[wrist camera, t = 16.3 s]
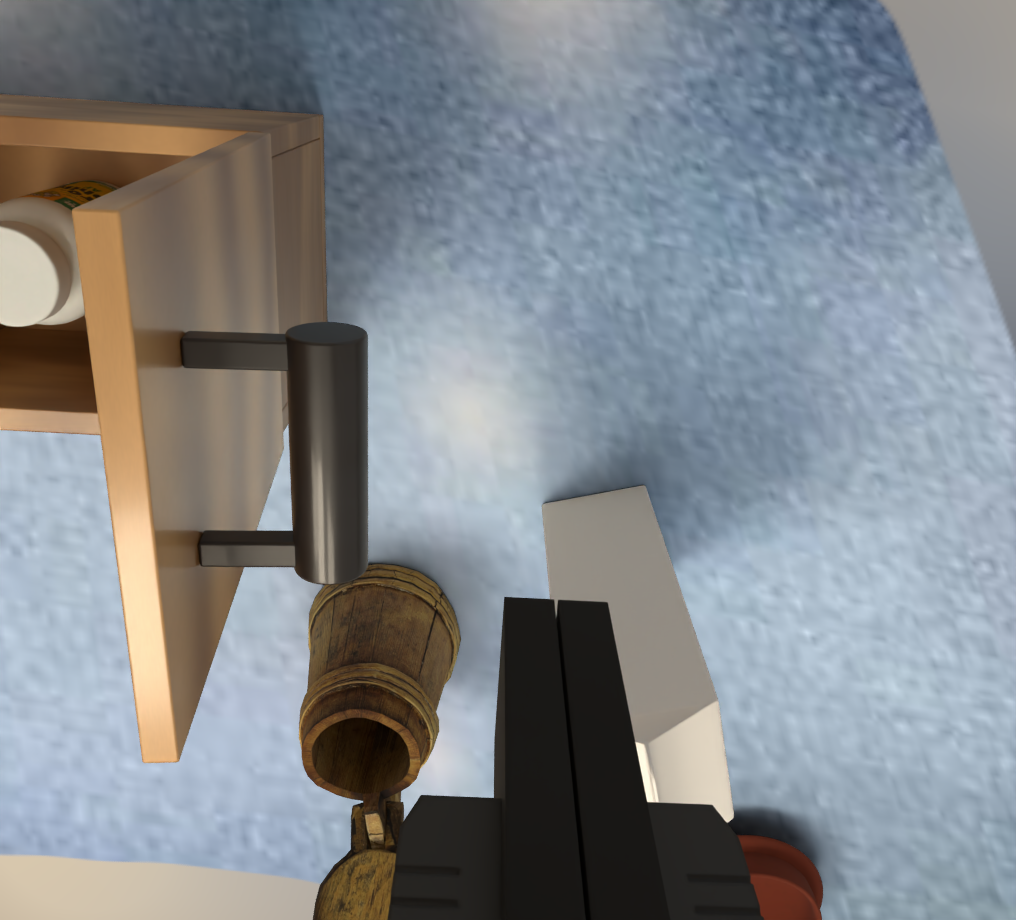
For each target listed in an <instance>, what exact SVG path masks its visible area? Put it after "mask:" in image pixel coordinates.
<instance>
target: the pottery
mask: <svg viewBox="0 0 1016 920" xmlns="http://www.w3.org/2000/svg"><path fill="white" fill-rule="evenodd" d="M737 836H738V838H739V840H740V843H741V846H742V850H743V853H744V856H745V859H746V863H747V866H748V869H749V872H750V876H751V884H753V885H754V889H755V892H756V895H757V898H758V902H759V905H760V914H761V916H763V918H764V920H822V917H821V912H820V907H821V904H822V899H823V886H822V881H821V877H820V875H819V872H818V870H817V869H816V867H815V865H814V864H813V863H812V861H811V860H810V859H809V858H808V857H807V856H806V855H805V854H803V853H802V852H801V851H799V850H798V849H796V848H795V847H793V846H791V845H789V844H787V843H785V842H782V841H779V840H776V839H773V838H769V837H763V836H756V835H737Z"/></svg>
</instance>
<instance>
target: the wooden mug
mask: <svg viewBox="0 0 1016 920" xmlns="http://www.w3.org/2000/svg"><path fill="white" fill-rule="evenodd" d="M460 641H461V637H460V632H459V627H458V623H457V620H456V616H455V613H454V610H453V608H452V607H451V605H450V603H449V601H448V600H447V598H446V596H445V595H444V594H443V592H442V591H441V589H440V588H439V587H438V585H437V584H436V583H435V582H433V581H432V580H430V579H429V578H427V577H426V576H424V575H423V574H421V573H420V572H418V571H415V570H411V569H408V568H404V567H401V566H396V565H384V564H375V565H368V567H367V569H366V571H365V572H364V574H362V575H361V576H360V577H358V578H357V579H355V580H352V581H350V582H346V583H342V584H335V585H325V586H324V587H323V588H322V590H321V591H320V592H319V593H318V595H317V596H316V597H315V599H314V602H313V605H312V607H311V610H310V613H309V650H310V663H309V676H308V689H307V693H306V695H305V697H304V700H303V703H302V706H301V710H300V722H299V740H300V744H301V749H302V760H303V766H304V768H305V771H306V773H307V775H308V777H309V778H310V779H311V780H312V781H313V782H314V783H315V784H316V785H317V786H319V787H321V788H323V789H326V790H328V791H330V792H332V793H334V794H336V795H339V796H342V797H346V798H350V799H355V800H361V801H363V803H360V804H357V805H354V806H353V808H352V814H351V850H350V851H349V852H348V853H347V855H346V856H345V857H344V858H342V859H341V860H340V861H339V862H338V863H336V864H335V865H334V867H333V868H332V869H331V871H330V872H329V874H328V875H327V876H326V878H325V879H324V880H323V882H322V883H321V885H320V887H319V891H318V895H317V899H316V902H315V909H314V915H313V920H388V912H389V905H390V898H391V890H392V882H393V875H394V870H395V860H396V852H397V845H398V837H399V830H400V826H401V825H402V823H403V822H404V805H403V802H400V801H401V791H402V790H404V789H405V788H407V787H409V786H410V785H411V784H412V783H413V782H414V781H415V780H416V779H417V776H418V773H419V770H420V768H421V767H422V766H423V765H424V764H425V763H426V762H427V760H428V758H429V756H430V754H431V752H432V750H433V747H434V744H435V741H436V738H437V735H438V732H439V719H438V716H437V714H436V710H437V707H438V704H439V700H440V697H441V694H442V691H443V687H444V685H445V683H446V682H447V681H448V680H449V678H450V677H451V674H452V671H453V668H454V665H455V662H456V659H457V654H458V650H459V646H460Z"/></svg>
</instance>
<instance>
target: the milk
mask: <svg viewBox="0 0 1016 920" xmlns="http://www.w3.org/2000/svg"><path fill="white" fill-rule="evenodd" d="M542 514H543V525H544V537H545V548H546V559H547V570H548V581H549V592H550V599H554V602H555V612H556V615H557V605H558V600H575V601H596V602H608V606H609V611H610V616H611V621H612V626H613V632H614V637H615V642H616V647H617V652H618V657H619V662H620V667H621V672H622V677H623V682H624V687H625V692H626V697H627V702H628V707H629V713H630V718H631V723H632V728H633V733H634V738H635V743H636V748H637V753H638V758H639V763H640V768H641V773H642V778H643V783H644V788H645V794H646V799H647V802H660V803H684V804H708V805H713V806H714V807H715V809H716V810H717V811H718V812H719V814H720V815H721V816H722V817H723V819H724V820H725V821H726V822H727V823H728V822H729V821H730V820H732V819H733V817H734V811H733V803H732V796H731V789H730V781H729V774H728V767H727V760H726V752H725V745H724V738H723V730H722V723H721V716H720V709H719V702H718V698H717V695H716V692H715V689H714V686H713V683H712V680H711V677H710V674H709V671H708V668H707V665H706V662H705V659H704V657H703V654H702V651H701V648H700V645H699V642H698V639H697V636H696V633H695V630H694V627H693V624H692V621H691V618H690V615H689V612H688V609H687V607H686V604H685V601H684V598H683V595H682V592H681V589H680V586H679V583H678V580H677V577H676V574H675V571H674V568H673V565H672V562H671V560H670V557H669V554H668V551H667V548H666V545H665V542H664V539H663V536H662V533H661V530H660V527H659V524H658V521H657V518H656V515H655V513H654V510H653V507H652V504H651V501H650V498H649V495H648V492H647V489H646V487H645V486H644V485H642V486H637V487H631V488H626V489H621V490H615V491H610V492H605V493H599V494H594V495H588V496H583V497H578V498H572V499H567V500H561V501H556V502H551V503H545V504H543V505H542Z"/></svg>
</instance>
